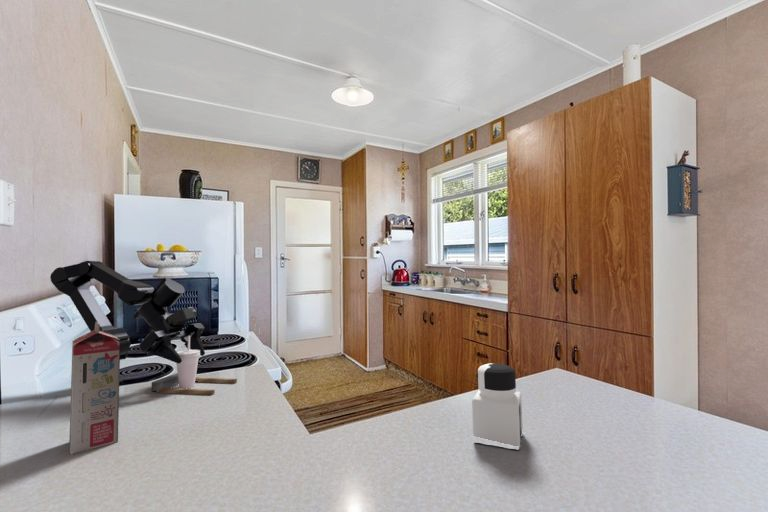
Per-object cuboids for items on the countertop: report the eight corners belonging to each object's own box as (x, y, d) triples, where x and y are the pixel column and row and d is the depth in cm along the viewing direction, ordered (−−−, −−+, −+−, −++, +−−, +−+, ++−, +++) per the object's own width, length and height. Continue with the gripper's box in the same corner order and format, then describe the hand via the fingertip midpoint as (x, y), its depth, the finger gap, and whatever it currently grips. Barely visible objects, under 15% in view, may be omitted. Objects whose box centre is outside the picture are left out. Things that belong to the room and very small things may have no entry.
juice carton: (113, 431, 71) (116, 319, 72) (117, 442, 66) (120, 322, 67) (69, 441, 66) (73, 323, 68) (70, 454, 61) (74, 326, 63)
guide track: (149, 392, 95) (150, 382, 95) (180, 380, 106) (180, 371, 106) (211, 394, 92) (212, 385, 92) (236, 382, 103) (236, 373, 103)
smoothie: (204, 383, 102) (205, 334, 103) (190, 390, 96) (191, 338, 97) (183, 383, 103) (184, 334, 104) (168, 390, 97) (169, 338, 97)
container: (523, 433, 66) (520, 362, 67) (519, 452, 59) (516, 373, 60) (480, 426, 70) (478, 359, 70) (473, 443, 63) (470, 368, 63)
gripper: (150, 300, 92) (187, 344, 90) (199, 296, 111) (231, 332, 108) (123, 331, 93) (159, 375, 91) (176, 322, 112) (207, 358, 109)
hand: (192, 358), depth 100 cm, fingers open, 9 cm apart
